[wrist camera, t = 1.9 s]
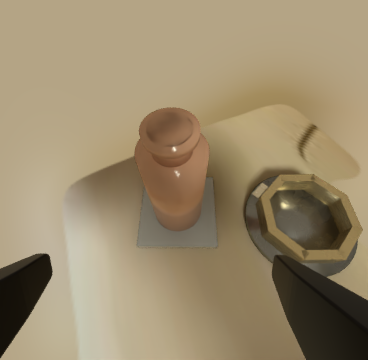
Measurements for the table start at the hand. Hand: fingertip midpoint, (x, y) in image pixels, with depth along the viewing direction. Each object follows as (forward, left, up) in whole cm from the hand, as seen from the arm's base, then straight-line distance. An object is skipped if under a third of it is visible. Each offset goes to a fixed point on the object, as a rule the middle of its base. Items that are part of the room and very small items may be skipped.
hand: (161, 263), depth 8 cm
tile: (+5, +5, -13) cm, 15 cm away
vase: (+5, +5, -12) cm, 14 cm away
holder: (+13, -5, -13) cm, 19 cm away
